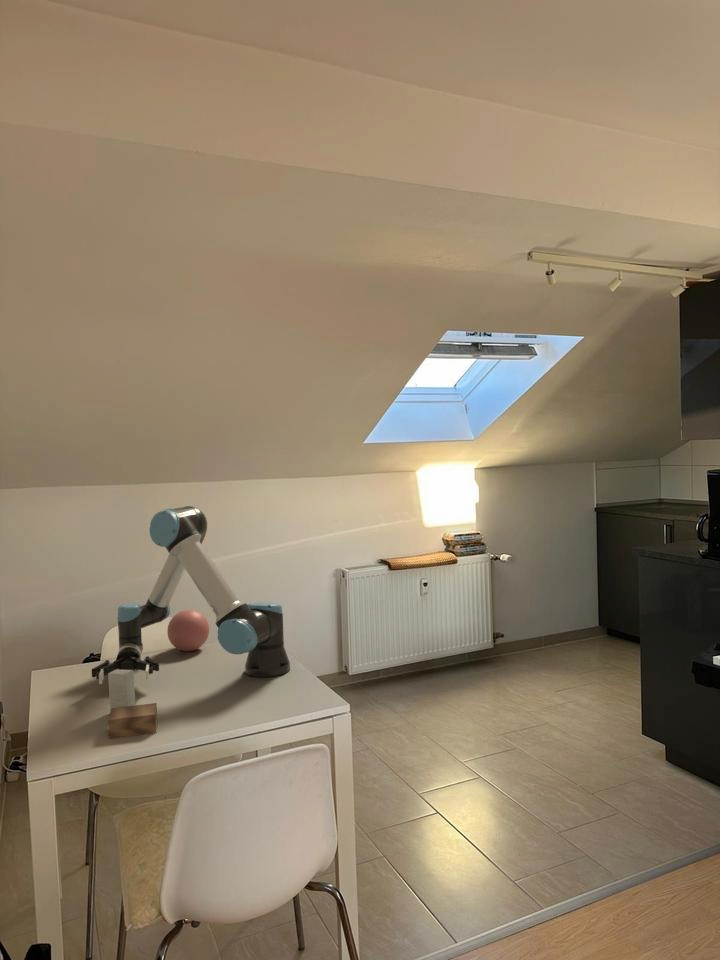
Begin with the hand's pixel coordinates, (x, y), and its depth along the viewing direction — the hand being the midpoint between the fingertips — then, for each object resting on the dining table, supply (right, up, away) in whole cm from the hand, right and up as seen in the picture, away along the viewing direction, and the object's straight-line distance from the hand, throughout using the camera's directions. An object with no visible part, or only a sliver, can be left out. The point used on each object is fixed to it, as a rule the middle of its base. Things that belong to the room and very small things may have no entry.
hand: (123, 677), depth 220 cm
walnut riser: (+10, -8, -23) cm, 26 cm away
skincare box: (+3, -8, -9) cm, 12 cm away
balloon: (+7, -4, +56) cm, 56 cm away
